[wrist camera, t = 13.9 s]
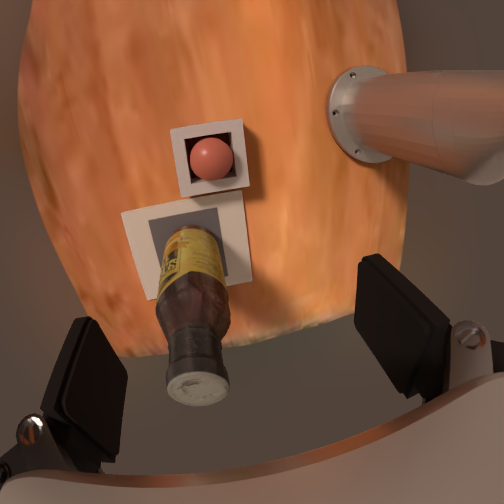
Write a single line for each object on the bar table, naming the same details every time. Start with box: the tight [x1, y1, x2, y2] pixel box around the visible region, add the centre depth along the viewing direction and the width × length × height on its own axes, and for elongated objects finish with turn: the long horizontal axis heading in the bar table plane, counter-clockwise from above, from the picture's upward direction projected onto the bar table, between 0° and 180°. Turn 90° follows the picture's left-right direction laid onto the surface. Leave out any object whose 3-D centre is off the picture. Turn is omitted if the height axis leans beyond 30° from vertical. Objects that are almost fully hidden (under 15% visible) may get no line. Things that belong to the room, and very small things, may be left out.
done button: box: [190, 137, 233, 181], centre depth 27 cm, size 4×4×3 cm
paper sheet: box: [121, 190, 253, 300], centre depth 33 cm, size 14×12×1 cm
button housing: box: [170, 119, 250, 198], centre depth 28 cm, size 7×7×3 cm
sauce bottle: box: [156, 225, 231, 406], centre depth 24 cm, size 7×6×20 cm
